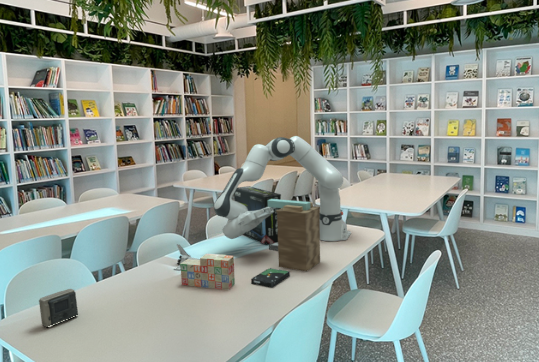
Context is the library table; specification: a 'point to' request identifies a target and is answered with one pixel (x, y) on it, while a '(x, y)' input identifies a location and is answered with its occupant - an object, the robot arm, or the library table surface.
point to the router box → (257, 201)
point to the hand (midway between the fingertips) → (269, 208)
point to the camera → (58, 307)
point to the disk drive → (270, 277)
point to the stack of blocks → (209, 271)
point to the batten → (287, 203)
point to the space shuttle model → (183, 257)
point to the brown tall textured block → (298, 237)
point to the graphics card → (273, 246)
